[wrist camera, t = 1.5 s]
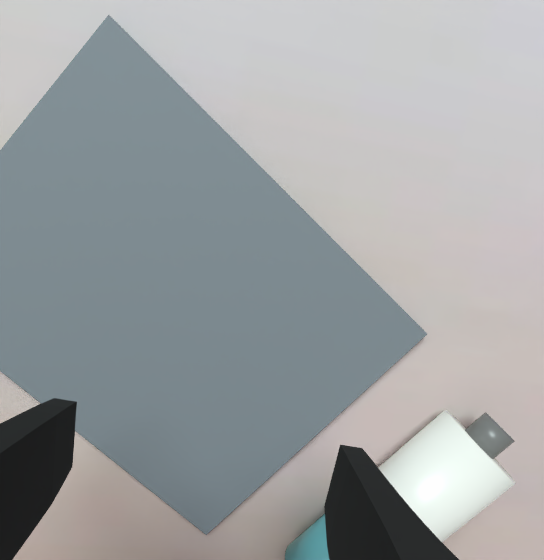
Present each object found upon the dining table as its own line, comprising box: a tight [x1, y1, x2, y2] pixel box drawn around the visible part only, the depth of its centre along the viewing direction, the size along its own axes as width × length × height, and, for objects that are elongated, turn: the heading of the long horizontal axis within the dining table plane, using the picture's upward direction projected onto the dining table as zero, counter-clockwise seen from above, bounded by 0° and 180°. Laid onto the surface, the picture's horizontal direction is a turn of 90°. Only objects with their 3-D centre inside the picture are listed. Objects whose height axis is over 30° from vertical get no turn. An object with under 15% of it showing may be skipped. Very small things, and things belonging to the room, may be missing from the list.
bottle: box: [285, 410, 515, 560], centre depth 19 cm, size 4×12×4 cm, turn 136°
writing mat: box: [0, 15, 427, 535], centre depth 19 cm, size 20×16×1 cm
